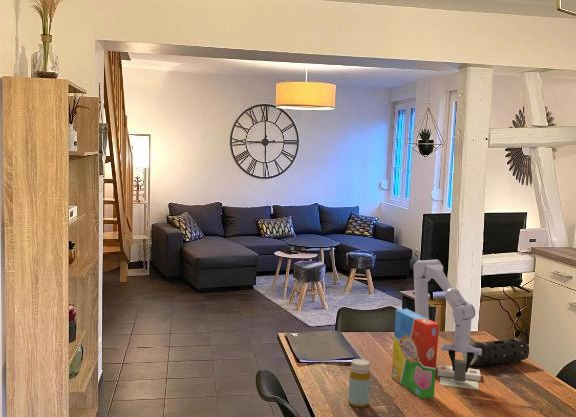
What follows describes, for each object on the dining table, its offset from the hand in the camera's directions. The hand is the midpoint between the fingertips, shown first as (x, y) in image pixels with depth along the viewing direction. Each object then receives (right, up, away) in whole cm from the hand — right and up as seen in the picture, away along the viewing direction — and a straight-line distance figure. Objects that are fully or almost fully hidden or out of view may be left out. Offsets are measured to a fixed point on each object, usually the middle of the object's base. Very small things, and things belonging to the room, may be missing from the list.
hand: (459, 370), depth 230 cm
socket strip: (+2, -5, +9) cm, 10 cm away
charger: (0, -3, +1) cm, 4 cm away
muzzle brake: (+22, -4, +25) cm, 33 cm away
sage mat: (0, -5, +1) cm, 5 cm away
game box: (-19, -5, -4) cm, 20 cm away
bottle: (-41, -6, -21) cm, 46 cm away
